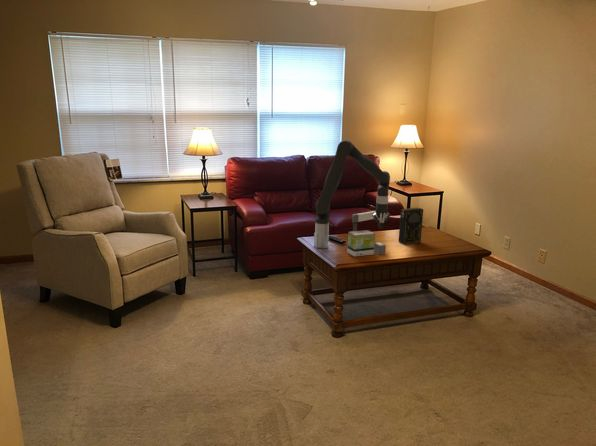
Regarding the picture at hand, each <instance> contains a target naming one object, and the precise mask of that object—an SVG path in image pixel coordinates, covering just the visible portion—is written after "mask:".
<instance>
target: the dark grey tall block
mask: <svg viewBox="0 0 596 446" xmlns="http://www.w3.org/2000/svg"><path fill="white" fill-rule="evenodd" d="M399 217H400V218H399V230H398V231H399V232H398V243H400V244H403V245H412V244H419V243H421V241H422V231H423V218H424V209H423V208H421V207H411V208H410V207H409V208H401V209H400V215H399Z"/></svg>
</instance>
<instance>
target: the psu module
mask: <svg viewBox="0 0 596 446" xmlns="http://www.w3.org/2000/svg"><path fill="white" fill-rule="evenodd" d="M386 248H387V246H386V244H385V243H382V242H380V241H376V242H375V245H374V253H375V254H377V255H386Z"/></svg>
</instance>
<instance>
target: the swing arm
mask: <svg viewBox="0 0 596 446" xmlns="http://www.w3.org/2000/svg"><path fill="white" fill-rule="evenodd" d="M375 212H376V210H372V211H366V212H361V213H353V214H352V219H351V222H352V223H353V222H354V223H357V224H358V223H359V222H363V221H364V222H365V221H369V220H375V219H374V218H373V216H372V214H375Z"/></svg>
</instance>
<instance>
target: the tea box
mask: <svg viewBox="0 0 596 446" xmlns="http://www.w3.org/2000/svg"><path fill="white" fill-rule="evenodd" d="M375 241H376V233H374V232H372V231H371V230H368V229H367V230H357V231H353V230H352V231H348V236H347V249H346V250H347V251H346V252H347V254H349V255H351V256H353V258H355V257H362V256H371V255H374V253H375V252H374V245H375Z"/></svg>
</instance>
